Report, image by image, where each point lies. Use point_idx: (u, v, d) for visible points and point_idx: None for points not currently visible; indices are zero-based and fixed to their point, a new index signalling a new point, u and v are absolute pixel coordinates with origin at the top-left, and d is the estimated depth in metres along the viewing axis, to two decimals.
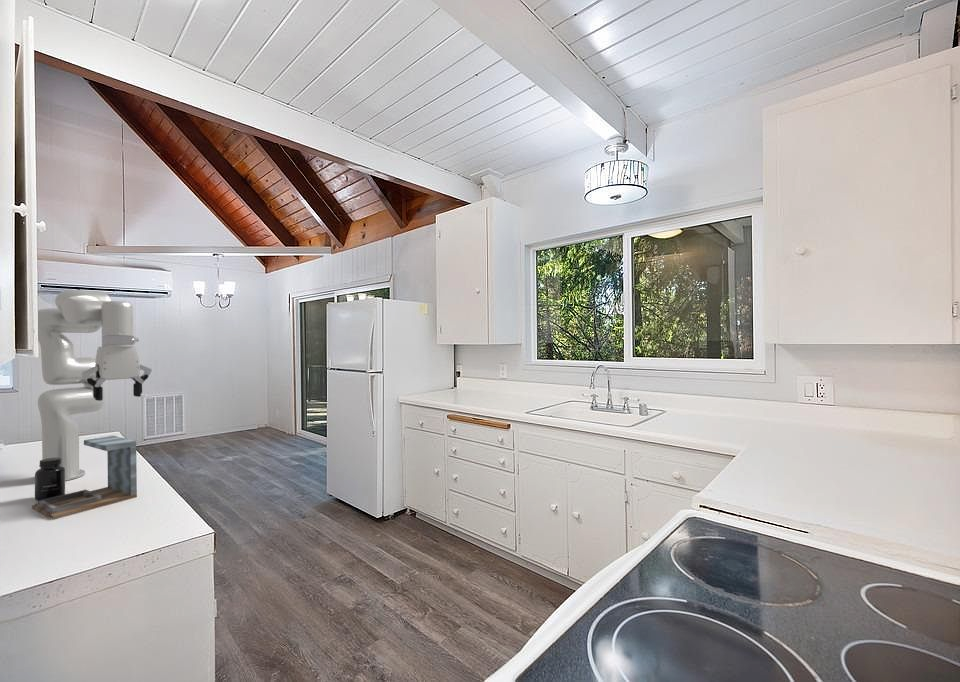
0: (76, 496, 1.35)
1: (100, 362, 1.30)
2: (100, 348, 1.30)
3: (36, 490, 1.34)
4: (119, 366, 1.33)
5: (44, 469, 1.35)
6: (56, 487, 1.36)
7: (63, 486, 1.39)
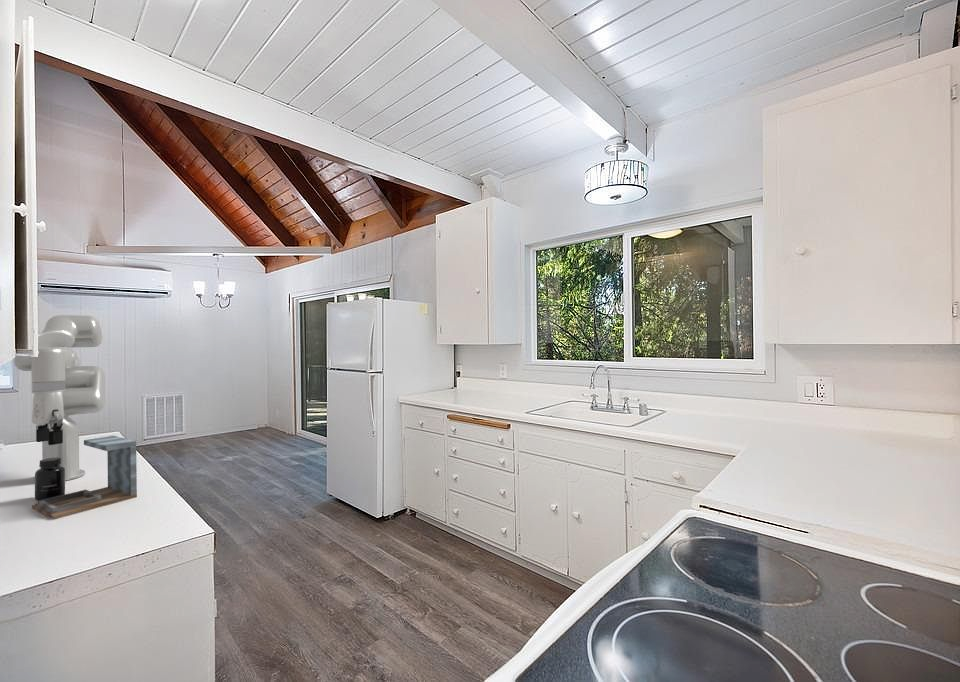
0: (76, 496, 1.35)
1: (61, 407, 1.36)
2: (57, 394, 1.36)
3: (36, 490, 1.34)
4: None
5: (44, 469, 1.35)
6: (56, 487, 1.36)
7: (63, 486, 1.39)
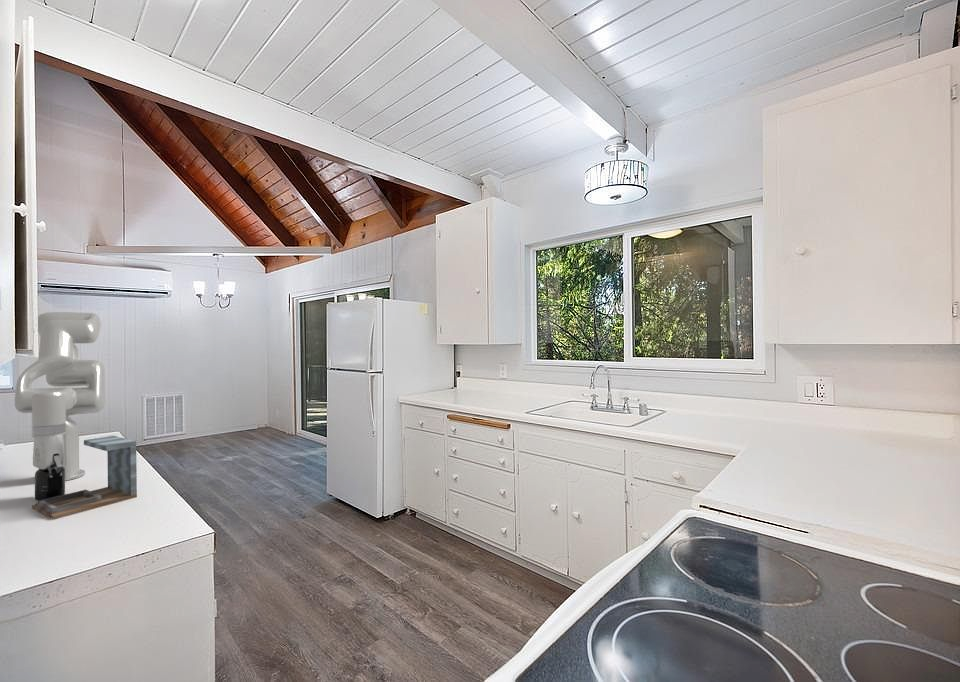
0: (76, 496, 1.35)
1: (62, 450, 1.36)
2: (58, 438, 1.36)
3: (36, 490, 1.34)
4: None
5: None
6: None
7: (63, 486, 1.39)
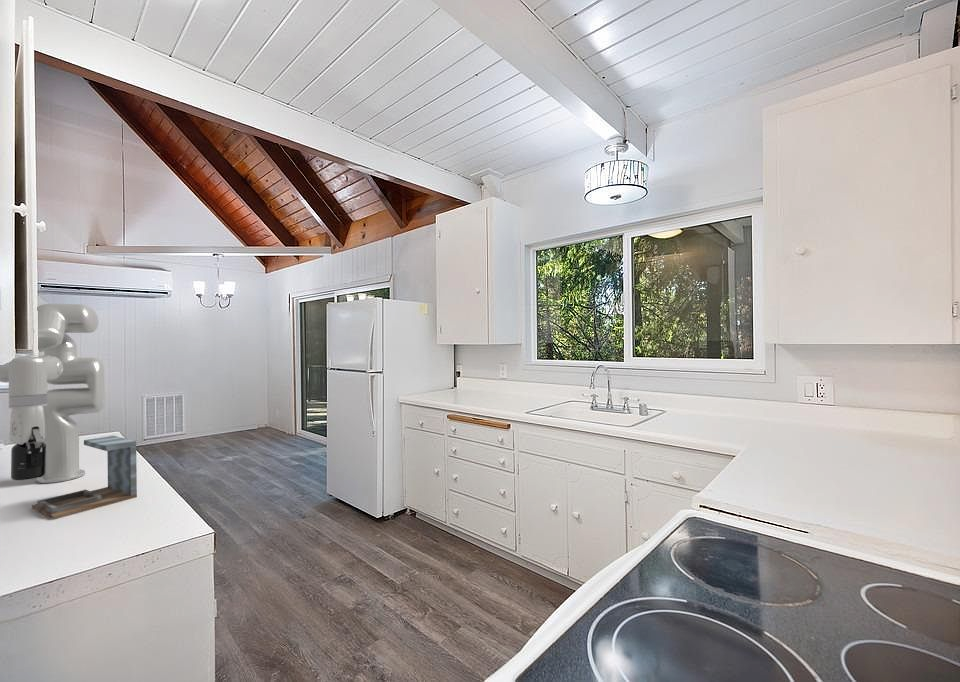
0: (76, 496, 1.35)
1: (42, 423, 1.21)
2: (37, 409, 1.21)
3: (12, 467, 1.19)
4: None
5: None
6: None
7: (44, 464, 1.23)
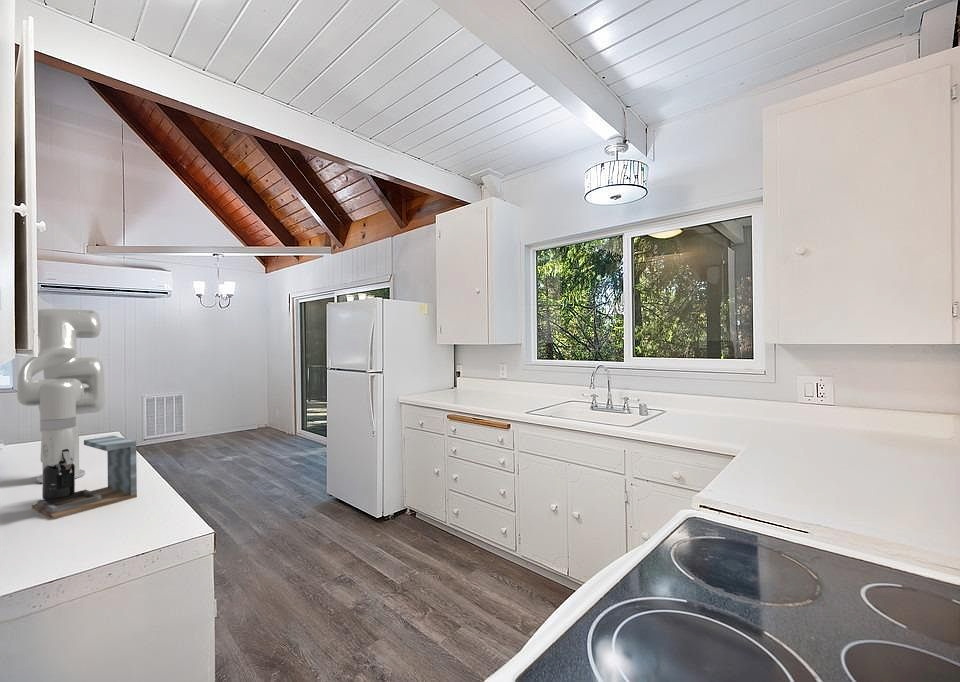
0: (76, 496, 1.35)
1: (71, 446, 1.27)
2: (67, 432, 1.26)
3: (44, 488, 1.25)
4: None
5: None
6: None
7: (73, 484, 1.29)
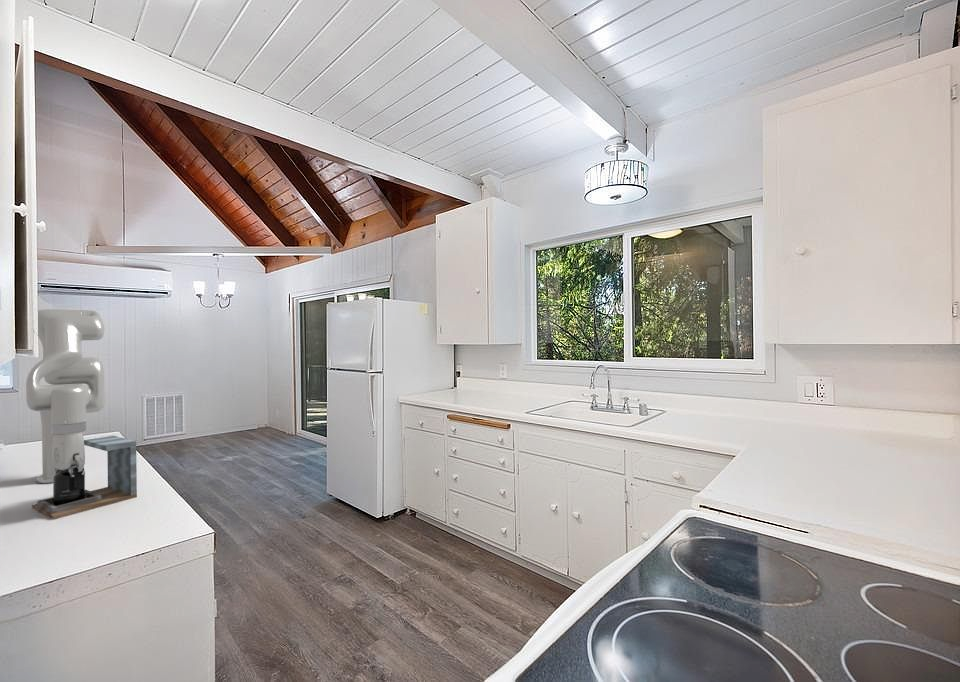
0: None
1: (82, 450, 1.29)
2: (78, 436, 1.28)
3: (55, 495, 1.27)
4: None
5: (63, 473, 1.28)
6: (76, 492, 1.29)
7: (83, 491, 1.31)
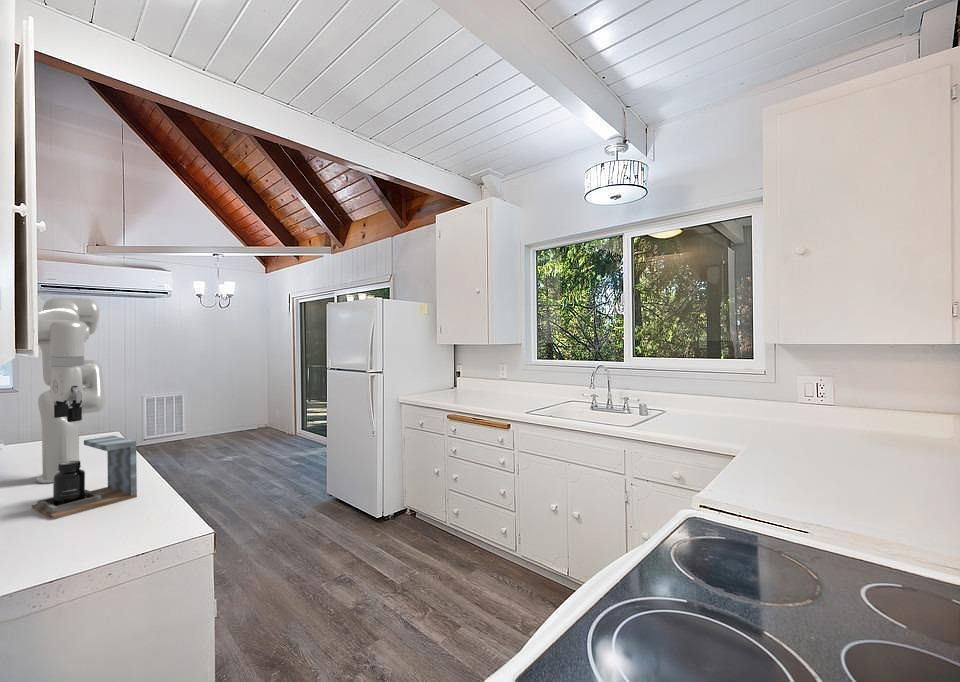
0: None
1: (80, 383, 1.32)
2: (76, 370, 1.31)
3: (55, 495, 1.27)
4: None
5: (63, 473, 1.28)
6: (76, 492, 1.29)
7: (83, 491, 1.31)
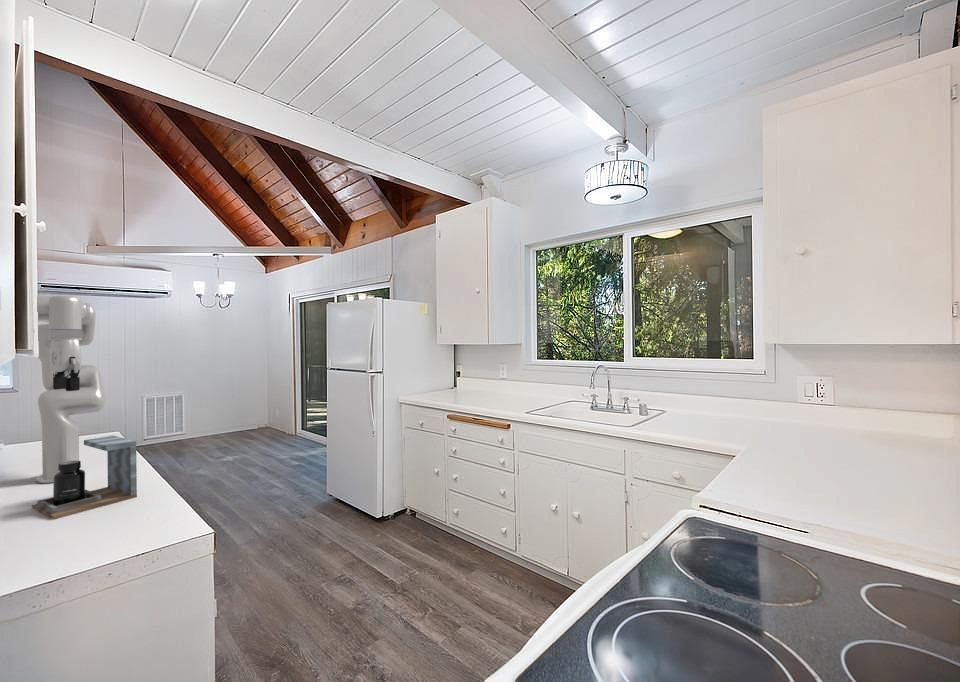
0: None
1: (78, 354, 1.38)
2: (74, 341, 1.38)
3: (55, 495, 1.27)
4: None
5: (63, 473, 1.28)
6: (76, 492, 1.29)
7: (83, 491, 1.31)
